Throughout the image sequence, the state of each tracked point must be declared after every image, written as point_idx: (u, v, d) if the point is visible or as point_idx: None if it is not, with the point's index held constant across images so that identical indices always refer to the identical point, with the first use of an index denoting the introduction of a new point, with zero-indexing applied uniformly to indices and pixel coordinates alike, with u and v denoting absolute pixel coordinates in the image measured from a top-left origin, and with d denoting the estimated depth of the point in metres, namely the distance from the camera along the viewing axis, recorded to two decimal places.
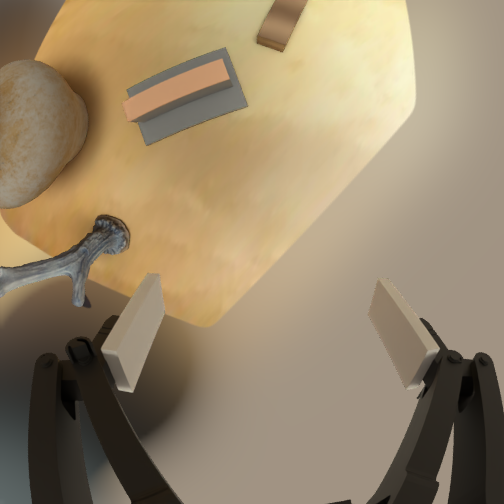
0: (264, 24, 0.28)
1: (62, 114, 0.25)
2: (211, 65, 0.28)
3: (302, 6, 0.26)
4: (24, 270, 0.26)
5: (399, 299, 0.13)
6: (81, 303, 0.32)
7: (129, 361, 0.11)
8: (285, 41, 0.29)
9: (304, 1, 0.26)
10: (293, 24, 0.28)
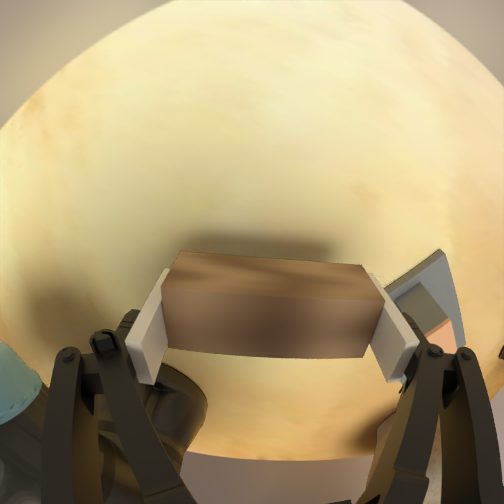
0: (330, 355, 0.14)
1: None
2: None
3: (234, 297, 0.13)
4: None
5: (381, 293, 0.14)
6: None
7: (151, 353, 0.11)
8: (375, 304, 0.13)
9: (210, 296, 0.13)
10: (314, 302, 0.13)
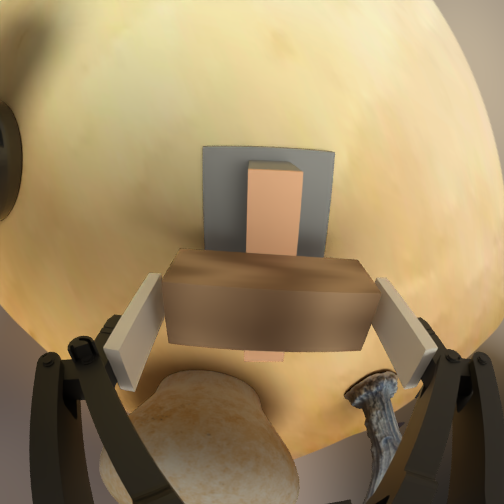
0: (328, 349, 0.15)
1: (224, 453, 0.18)
2: (254, 196, 0.15)
3: (233, 291, 0.13)
4: None
5: (397, 298, 0.13)
6: None
7: (131, 360, 0.11)
8: (371, 296, 0.13)
9: (210, 290, 0.13)
10: (312, 295, 0.13)
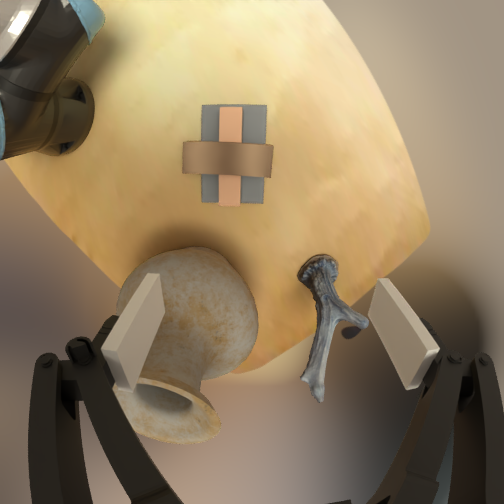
0: (253, 174, 0.33)
1: (204, 260, 0.36)
2: (222, 117, 0.34)
3: (211, 143, 0.32)
4: (315, 357, 0.36)
5: (399, 299, 0.13)
6: (367, 320, 0.38)
7: (129, 361, 0.11)
8: (268, 147, 0.32)
9: (202, 144, 0.32)
10: (242, 145, 0.32)
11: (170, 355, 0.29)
